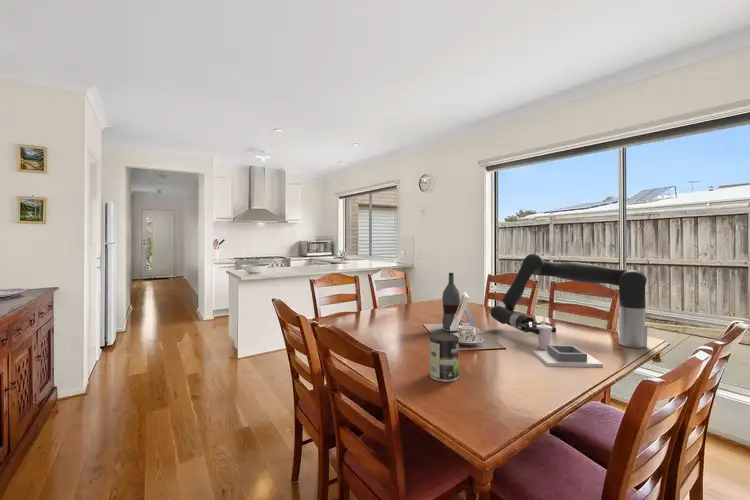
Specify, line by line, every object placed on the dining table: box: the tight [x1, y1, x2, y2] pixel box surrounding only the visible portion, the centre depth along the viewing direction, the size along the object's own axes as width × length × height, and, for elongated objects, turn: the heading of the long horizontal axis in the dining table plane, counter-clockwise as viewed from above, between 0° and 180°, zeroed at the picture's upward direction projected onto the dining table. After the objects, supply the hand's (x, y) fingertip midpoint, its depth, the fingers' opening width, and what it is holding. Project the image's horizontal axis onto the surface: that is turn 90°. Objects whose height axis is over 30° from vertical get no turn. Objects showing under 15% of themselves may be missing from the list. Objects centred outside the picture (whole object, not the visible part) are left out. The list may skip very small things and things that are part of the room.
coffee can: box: [428, 332, 460, 383], centre depth 124 cm, size 10×10×14 cm
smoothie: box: [536, 315, 553, 351], centre depth 152 cm, size 6×6×14 cm
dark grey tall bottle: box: [442, 272, 461, 330], centre depth 183 cm, size 9×9×30 cm
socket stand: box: [533, 344, 604, 368], centre depth 138 cm, size 20×14×4 cm
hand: (547, 331), depth 151 cm, fingers open, 8 cm apart
